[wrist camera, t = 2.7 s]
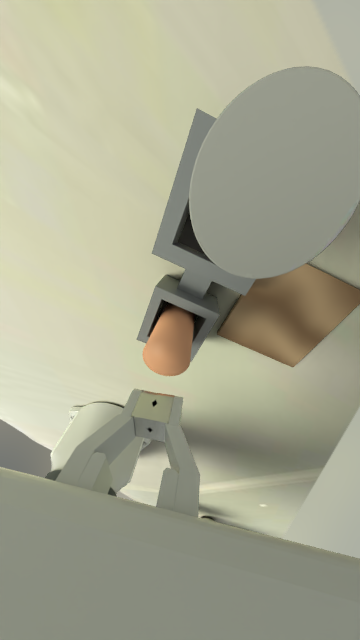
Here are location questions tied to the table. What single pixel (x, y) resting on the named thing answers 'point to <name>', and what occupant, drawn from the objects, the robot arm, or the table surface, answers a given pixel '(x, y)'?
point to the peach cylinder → (170, 342)
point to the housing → (188, 253)
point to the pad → (289, 313)
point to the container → (278, 173)
